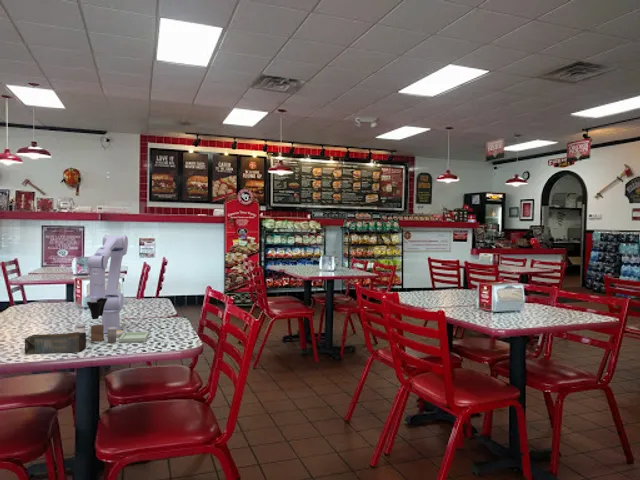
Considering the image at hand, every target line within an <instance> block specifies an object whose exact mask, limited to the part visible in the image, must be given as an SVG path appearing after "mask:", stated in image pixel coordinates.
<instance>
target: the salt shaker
mask: <svg viewBox="0 0 640 480" xmlns="http://www.w3.org/2000/svg"><path fill="white" fill-rule="evenodd" d="M75 326H76V327H75V328H76V330H75V332H79V333H86V324H83V323H81V324H76V325H75Z"/></svg>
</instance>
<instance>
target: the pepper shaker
mask: <svg viewBox="0 0 640 480" xmlns="http://www.w3.org/2000/svg"><path fill="white" fill-rule="evenodd" d="M116 330H117V327H108V333H107V344H115V343H117V338H116Z"/></svg>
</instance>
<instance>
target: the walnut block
mask: <svg viewBox="0 0 640 480" xmlns="http://www.w3.org/2000/svg"><path fill="white" fill-rule="evenodd" d="M104 337H105V333H104V325H102V324H93V325H91V326H90V342H92V343H93V342H94V343H95V342H102V341H103V340H104Z"/></svg>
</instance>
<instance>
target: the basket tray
mask: <svg viewBox="0 0 640 480" xmlns="http://www.w3.org/2000/svg"><path fill="white" fill-rule="evenodd" d="M149 333H150V332H149V331H140V332H139V331H133V332H131V331H130V332H123V334H122V336H121V337H120V338H118V344H130V343H131V344H133V343H146V342H147V340H148V338H149V337H150V335H149Z"/></svg>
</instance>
